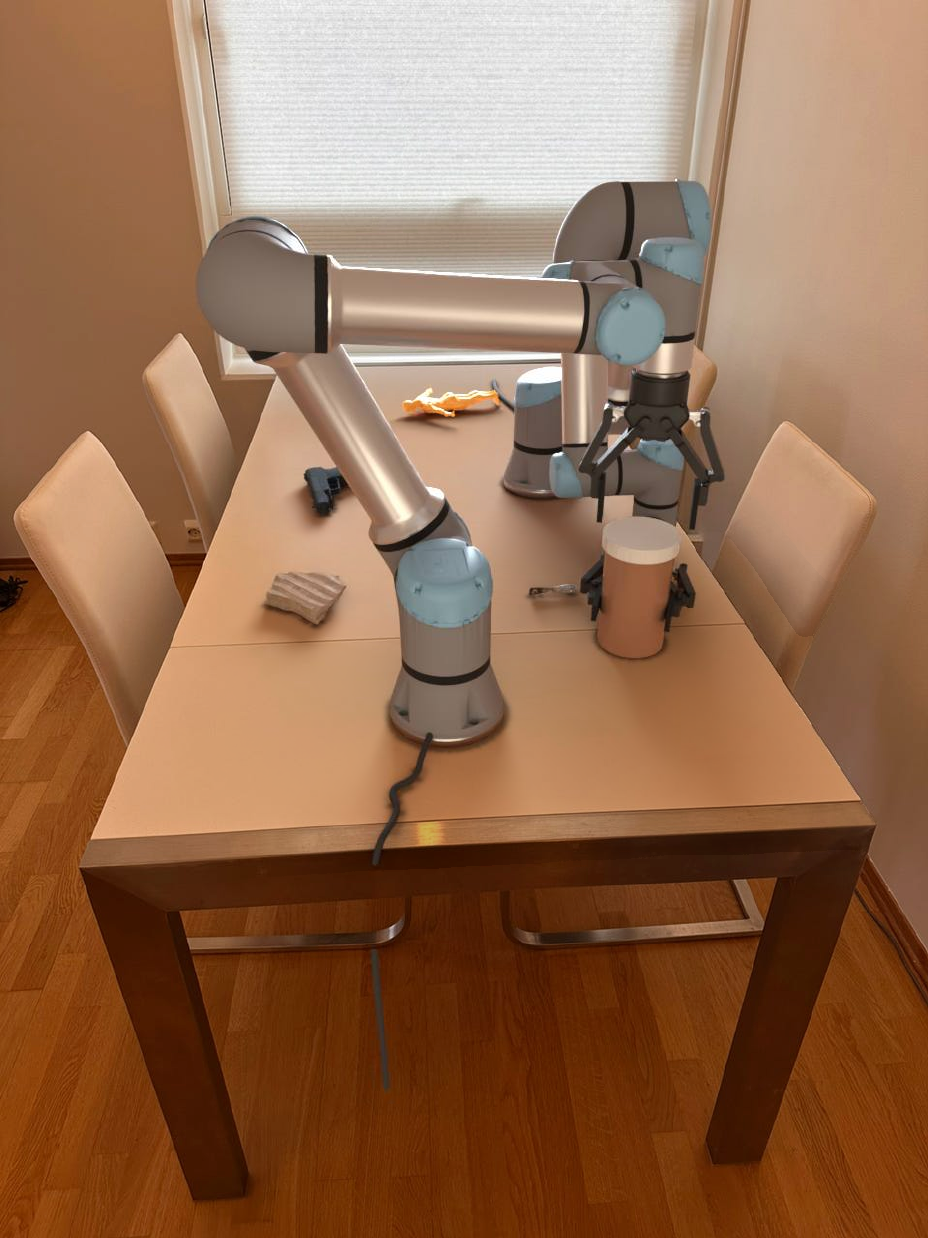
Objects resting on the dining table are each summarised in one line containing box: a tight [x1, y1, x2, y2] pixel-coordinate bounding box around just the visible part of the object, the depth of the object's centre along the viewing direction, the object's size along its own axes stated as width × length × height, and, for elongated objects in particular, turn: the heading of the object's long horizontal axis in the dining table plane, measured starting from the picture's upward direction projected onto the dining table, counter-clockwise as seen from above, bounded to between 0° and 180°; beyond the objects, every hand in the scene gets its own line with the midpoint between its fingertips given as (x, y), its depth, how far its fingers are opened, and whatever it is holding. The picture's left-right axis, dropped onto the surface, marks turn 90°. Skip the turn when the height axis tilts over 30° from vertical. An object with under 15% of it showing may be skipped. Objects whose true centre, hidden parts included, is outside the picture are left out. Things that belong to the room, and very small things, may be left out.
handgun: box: [303, 466, 349, 515], centre depth 181 cm, size 3×18×12 cm
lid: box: [601, 516, 682, 564], centre depth 127 cm, size 11×11×2 cm
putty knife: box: [528, 583, 577, 596], centre depth 147 cm, size 1×8×2 cm, turn 103°
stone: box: [265, 571, 347, 625], centre depth 145 cm, size 13×12×2 cm
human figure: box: [402, 385, 500, 418], centre depth 225 cm, size 20×20×4 cm
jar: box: [596, 550, 676, 659], centre depth 131 cm, size 10×10×18 cm
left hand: (645, 522), depth 126 cm, fingers open, 12 cm apart
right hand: (630, 618), depth 129 cm, fingers closed on jar, 10 cm apart
